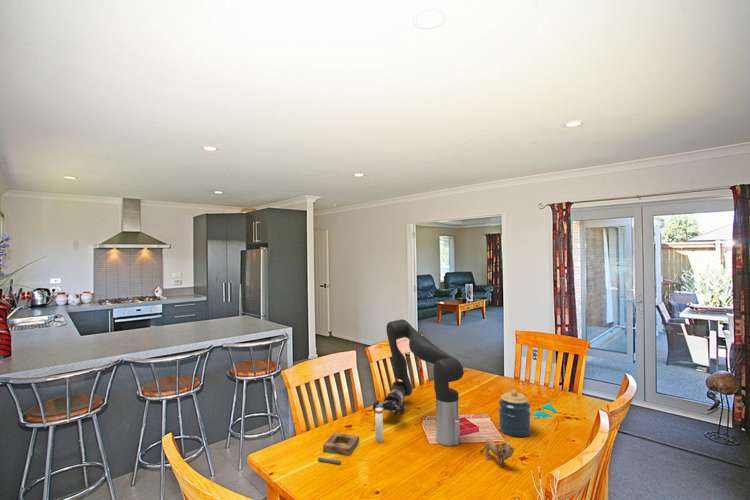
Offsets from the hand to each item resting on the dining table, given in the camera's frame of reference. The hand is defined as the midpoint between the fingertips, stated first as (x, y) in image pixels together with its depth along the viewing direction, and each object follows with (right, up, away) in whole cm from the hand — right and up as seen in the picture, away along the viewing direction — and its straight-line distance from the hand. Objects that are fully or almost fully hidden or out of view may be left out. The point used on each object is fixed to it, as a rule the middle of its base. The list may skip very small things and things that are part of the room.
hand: (385, 413), depth 167 cm
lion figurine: (+41, -7, -26) cm, 49 cm away
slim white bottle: (-3, -7, -9) cm, 12 cm away
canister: (+56, -7, -1) cm, 57 cm away
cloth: (+79, -8, +19) cm, 82 cm away
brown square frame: (-18, -7, -14) cm, 24 cm away
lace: (-21, -7, -25) cm, 34 cm away
